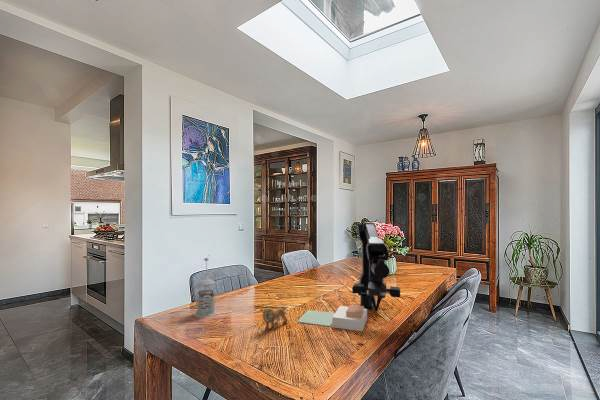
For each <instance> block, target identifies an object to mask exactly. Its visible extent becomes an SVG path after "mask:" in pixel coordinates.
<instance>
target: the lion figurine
mask: <svg viewBox="0 0 600 400" xmlns="http://www.w3.org/2000/svg"><path fill="white" fill-rule="evenodd" d="M280 317H281V318H282V319H283V320H284V322H283V324H285V325H286V324H287V323H288V318H287V316H286V312H285V310H284V308H282V307H278V308H276V309H274V310H273V309H272V308H270V307H266V308H265V309H263V311H262V319H263V322H264V323H265V325H266V327H264V329H265V330H268V329H269V324H271V327H270V331H274V330H275V325H277V324H279V321H280Z"/></svg>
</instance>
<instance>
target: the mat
mask: <svg viewBox="0 0 600 400" xmlns="http://www.w3.org/2000/svg"><path fill="white" fill-rule="evenodd" d="M335 313H336V312H327V311H319V310H309V309H308V310H306V311H305V312H304V314H303V315H302V316H301V317H300V318H299V319H298V320H297V321H296V322H297V323H298V324H306V325H312V326H321V327H327V328H329V327H331V326H332V317H333V316H334V314H335Z"/></svg>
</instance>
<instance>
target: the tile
mask: <svg viewBox="0 0 600 400" xmlns="http://www.w3.org/2000/svg"><path fill="white" fill-rule="evenodd" d="M347 307H348V309H347V311H346V316H349V317H357V318H361V317H362V315H363V312H364V306H360V305H358V304H357V305H356V304H349V305H348V306H347Z"/></svg>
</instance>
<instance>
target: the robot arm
mask: <svg viewBox="0 0 600 400" xmlns="http://www.w3.org/2000/svg"><path fill="white" fill-rule="evenodd" d="M375 224H376V223H375V222H373V221H369V222H368V221H365V222H363V223H361V224H358V225H357V227H356V234H357V237H358V240H359V241H360V244H361V266H362V267H361V269H362V270H361V271H362V272H361V275H360V277H359V278H358V280H359V281H358V283H354V284H353V285H352V287H351V289H352V290H351V292H352V293H353V294H357V295H358V296H360V301H359V302H360V304H359V306H364V309H367V310H371V311H372V310H374V311H375V312H376V313H377V312H378V310H379V307H380V305H381V304H380V303H381V301H382V300H383V299H385V298H386V296H387V295H388V294H389V296H391V298H398V299H399V298H401V288H400V287H399V286H392V285H391V286H390V287H389V288H387V283H385V282H384V279H386V278H387V277H388V276H389V275H390V268H389V266H388V265H387V264H386V263H385V261H389V258H390V255H389V250H388V247H387V245H386V244H385V242H384V240H383V239H381V238H379V235H378V233H377V227H376V225H375ZM386 294H387V295H386ZM376 297H377V298H376Z"/></svg>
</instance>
